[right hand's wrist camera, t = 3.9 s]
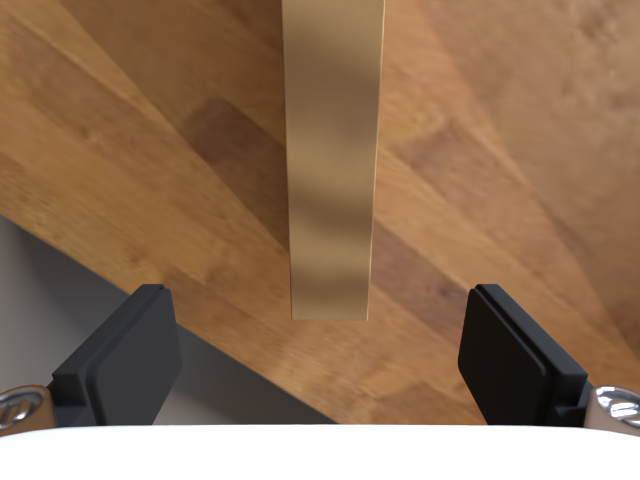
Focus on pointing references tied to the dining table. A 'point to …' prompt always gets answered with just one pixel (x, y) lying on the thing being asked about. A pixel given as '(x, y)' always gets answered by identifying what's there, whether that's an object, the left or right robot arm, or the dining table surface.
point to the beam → (331, 151)
